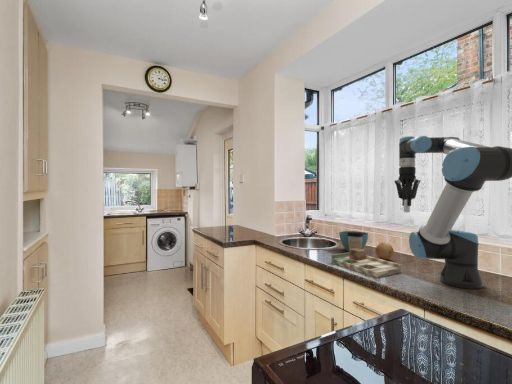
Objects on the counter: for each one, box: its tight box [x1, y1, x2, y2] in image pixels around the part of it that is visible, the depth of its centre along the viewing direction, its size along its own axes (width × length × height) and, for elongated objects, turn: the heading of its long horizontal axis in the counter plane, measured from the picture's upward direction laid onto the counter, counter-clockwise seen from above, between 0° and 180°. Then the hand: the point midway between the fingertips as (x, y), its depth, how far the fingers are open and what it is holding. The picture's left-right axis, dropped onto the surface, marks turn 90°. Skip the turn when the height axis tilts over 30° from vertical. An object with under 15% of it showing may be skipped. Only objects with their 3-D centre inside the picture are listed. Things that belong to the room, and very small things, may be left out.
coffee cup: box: [347, 230, 363, 251], centre depth 167 cm, size 9×9×15 cm
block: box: [349, 248, 367, 261], centre depth 152 cm, size 6×6×5 cm
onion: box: [375, 242, 395, 261], centre depth 160 cm, size 10×10×10 cm
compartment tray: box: [331, 251, 402, 279], centre depth 144 cm, size 29×18×4 cm, turn 29°
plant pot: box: [338, 230, 369, 253], centre depth 182 cm, size 18×18×12 cm
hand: (406, 212), depth 142 cm, fingers closed
